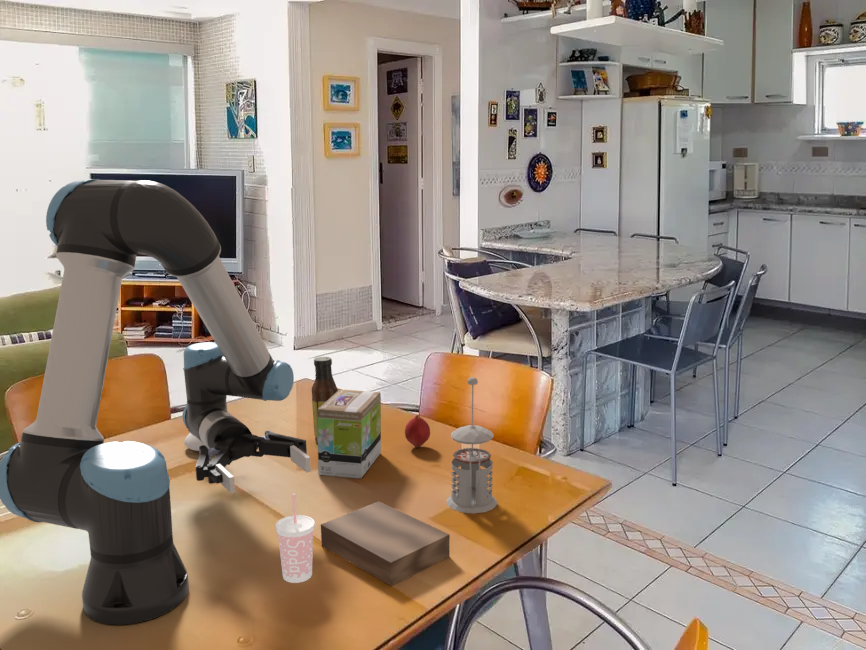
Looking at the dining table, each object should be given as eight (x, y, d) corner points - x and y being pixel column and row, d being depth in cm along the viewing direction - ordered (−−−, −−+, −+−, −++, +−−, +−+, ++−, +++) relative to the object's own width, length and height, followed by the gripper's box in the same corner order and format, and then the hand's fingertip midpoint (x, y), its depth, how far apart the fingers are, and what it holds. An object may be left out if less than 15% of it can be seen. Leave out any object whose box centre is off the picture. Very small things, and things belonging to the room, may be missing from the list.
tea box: (363, 480, 164) (361, 411, 160) (317, 476, 165) (314, 408, 162) (382, 453, 178) (381, 390, 175) (339, 450, 180) (337, 387, 177)
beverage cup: (271, 582, 125) (267, 500, 122) (287, 563, 130) (283, 484, 127) (307, 587, 123) (304, 504, 120) (322, 567, 129) (319, 487, 126)
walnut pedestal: (391, 585, 124) (390, 562, 123) (321, 546, 136) (320, 524, 135) (449, 556, 132) (449, 534, 132) (379, 521, 145) (378, 501, 144)
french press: (494, 490, 158) (496, 369, 153) (501, 517, 147) (503, 387, 141) (445, 491, 158) (445, 370, 152) (448, 518, 146) (448, 388, 141)
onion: (400, 445, 183) (400, 412, 181) (423, 441, 185) (423, 408, 183) (410, 453, 177) (410, 419, 176) (434, 449, 180) (434, 415, 178)
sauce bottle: (346, 439, 186) (344, 357, 182) (329, 447, 181) (326, 363, 177) (325, 434, 190) (322, 353, 186) (307, 442, 185) (304, 359, 180)
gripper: (288, 440, 157) (338, 476, 140) (160, 470, 143) (199, 515, 126) (286, 404, 155) (336, 437, 138) (156, 431, 142) (195, 472, 125)
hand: (271, 474), depth 132 cm, fingers open, 13 cm apart
